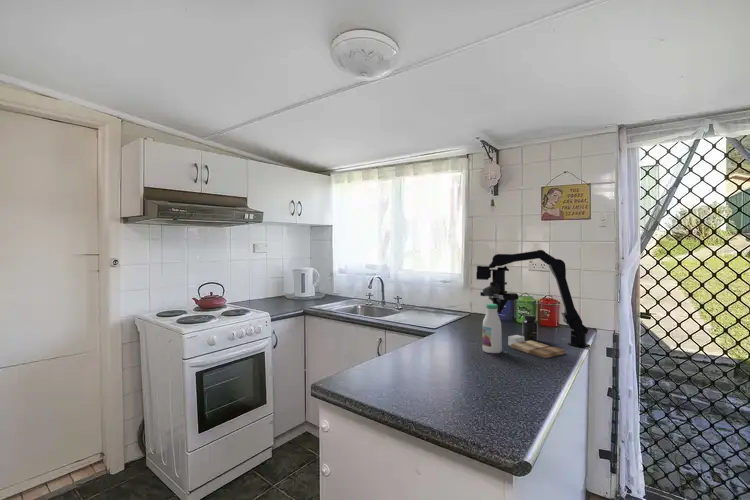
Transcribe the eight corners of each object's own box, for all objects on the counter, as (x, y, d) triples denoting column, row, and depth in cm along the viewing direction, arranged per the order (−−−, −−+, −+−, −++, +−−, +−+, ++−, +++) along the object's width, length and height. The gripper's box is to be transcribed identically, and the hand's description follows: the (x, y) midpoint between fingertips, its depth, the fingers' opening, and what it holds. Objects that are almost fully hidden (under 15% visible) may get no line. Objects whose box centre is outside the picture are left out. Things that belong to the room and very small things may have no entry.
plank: (531, 343, 161) (531, 340, 161) (548, 349, 153) (548, 345, 153) (511, 347, 155) (511, 343, 155) (528, 353, 147) (528, 349, 147)
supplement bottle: (535, 343, 163) (535, 317, 162) (520, 341, 167) (520, 315, 167) (539, 340, 168) (539, 315, 168) (524, 338, 172) (524, 313, 172)
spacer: (516, 343, 163) (516, 334, 163) (524, 345, 160) (524, 336, 160) (508, 345, 160) (508, 336, 160) (515, 347, 156) (515, 338, 156)
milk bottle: (499, 348, 154) (498, 303, 154) (503, 354, 146) (503, 305, 146) (480, 348, 154) (480, 302, 154) (484, 353, 147) (484, 305, 147)
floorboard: (550, 349, 152) (550, 346, 152) (565, 353, 146) (565, 350, 146) (529, 353, 146) (529, 350, 146) (544, 358, 140) (544, 354, 140)
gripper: (472, 279, 173) (472, 311, 173) (501, 282, 157) (501, 317, 157) (488, 278, 178) (488, 309, 178) (519, 281, 162) (519, 315, 162)
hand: (498, 312), depth 169 cm, fingers closed
